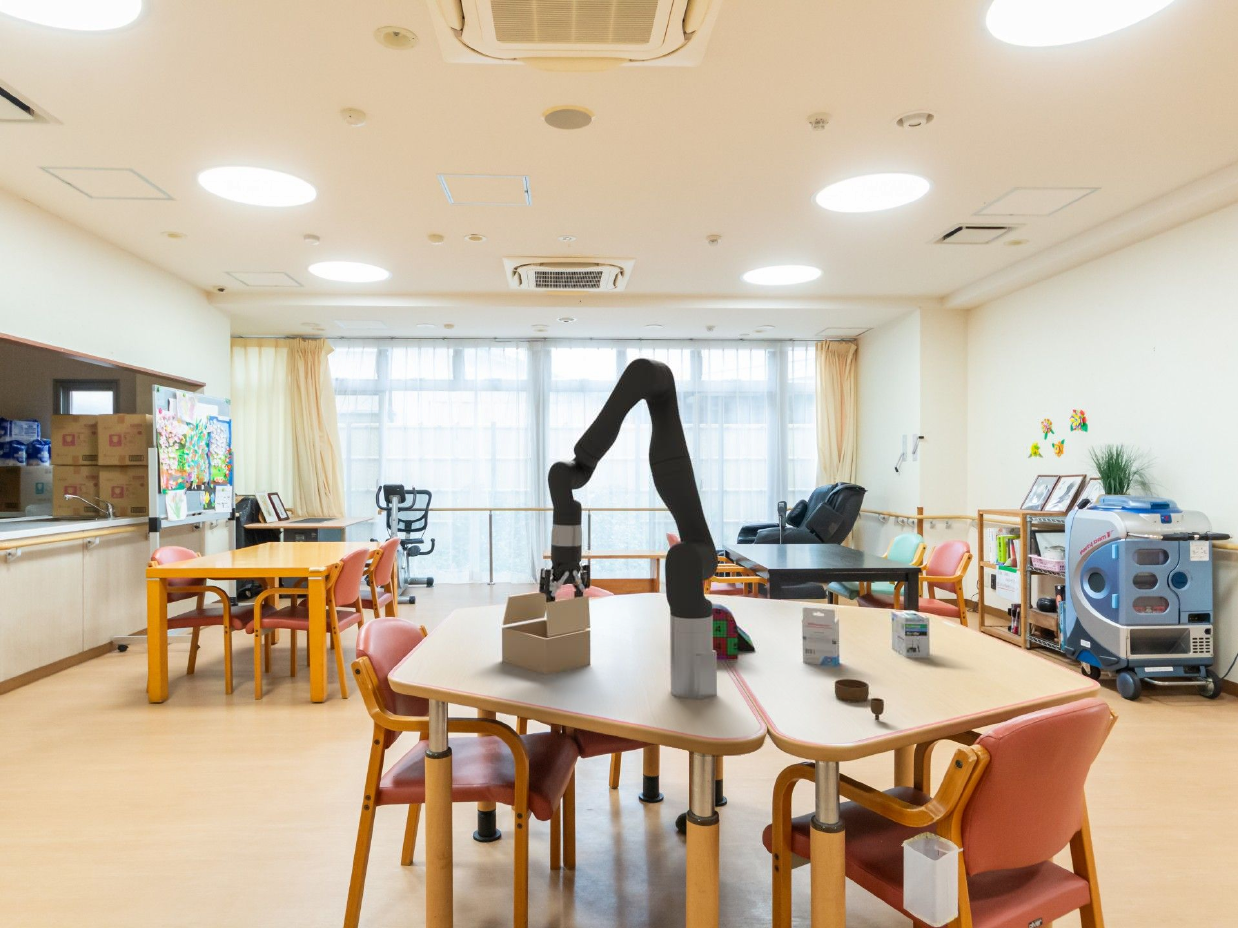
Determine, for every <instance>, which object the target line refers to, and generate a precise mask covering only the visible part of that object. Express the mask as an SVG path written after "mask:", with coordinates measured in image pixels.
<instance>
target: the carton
mask: <svg viewBox="0 0 1238 928" xmlns="http://www.w3.org/2000/svg"><path fill="white" fill-rule="evenodd" d="M501 657H502V658H501V661H502V662H505V661H507V662H506V663H508V664H511V663H512V665H515V666H518V667H521V668H524V669H528V670H531V671H534V672H538V673H540V674H544V675H550V674H555V673H560V672H563V671H568V670H573V669H577V668H581V667H584V666H585V667H586V666H590V665H591V629H589V628H588V629H583V630H578V631H574V632H569V633H564V634H559V635H555V636H550V637H547V619H541V620H540V619H539V620H536V621H531V622H526V623H520V624H519V623H518V624H515V625H509V626H504V627H501Z"/></svg>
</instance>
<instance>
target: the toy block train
mask: <svg viewBox="0 0 1238 928" xmlns="http://www.w3.org/2000/svg"><path fill="white" fill-rule="evenodd" d="M712 606H713V650H715V651H716V652H717V660H730V659H732V660H733V661H734V659H738V660H739V656H738V655H739V652H750V651H755V652H756V649H755V646H754V644H753V642H752V640H751V636H750V635H749V634H748V633H746V631H744V630H743V629H742V628H741V627H740V626H739V625H738V624H737V622H736V619H735V617H734V615H733V613H732V612H731V611H730V609H728V608H727V607H726V606H725V605H722V604H718V603H712Z"/></svg>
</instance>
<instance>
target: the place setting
mask: <svg viewBox="0 0 1238 928" xmlns="http://www.w3.org/2000/svg"><path fill="white" fill-rule="evenodd" d="M834 690H835V691H834V694H835V697H836V698H837V699H838V700H840V699H841V700H840V701H842V702H847V701H850V702H849V703H863V701H864V702H866V701H867V700H868V699H869V695H870V694H869V693H870V692H869V691H870V685H869V683H867V682H865V681H862V680H859V679H853V678H842V679H841V678H840V679H838V680H835V682H834ZM869 702H870V711H871V714H873V715H874V721H876V720H880V715H882V714H883V713H884V710H885V709H884V708H885V707H884V706H885V704H884V703H885V701H884V699H882V698H880V697H879V698H877V697H873V698H872V697H871V698H870V701H869Z"/></svg>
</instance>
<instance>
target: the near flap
mask: <svg viewBox="0 0 1238 928" xmlns="http://www.w3.org/2000/svg"><path fill="white" fill-rule="evenodd" d="M589 597H590V596H589V595H583V596H582V597H576V598H574V597H571V598H564V599H559V600H555V601H552V602H546V613H545V618H546V620H547V637H550V636H555V635H559V634H564V633H569V632H574V631H578V630H583V629H588V630H589V629H591V617H590V615H591V614H590V598H589Z"/></svg>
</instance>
